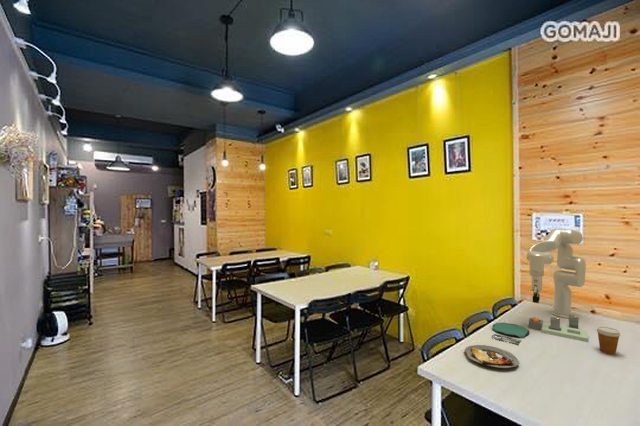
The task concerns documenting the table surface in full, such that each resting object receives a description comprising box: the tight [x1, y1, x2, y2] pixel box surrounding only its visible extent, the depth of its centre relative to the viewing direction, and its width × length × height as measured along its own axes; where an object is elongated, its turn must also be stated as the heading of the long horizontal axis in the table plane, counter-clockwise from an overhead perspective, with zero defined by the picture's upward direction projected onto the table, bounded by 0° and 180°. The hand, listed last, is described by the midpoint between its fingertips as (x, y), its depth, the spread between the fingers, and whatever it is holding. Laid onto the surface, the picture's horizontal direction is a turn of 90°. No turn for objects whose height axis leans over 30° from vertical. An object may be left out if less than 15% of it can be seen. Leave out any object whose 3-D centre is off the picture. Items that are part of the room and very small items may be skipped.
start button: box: [531, 317, 540, 322], centre depth 204 cm, size 4×4×3 cm
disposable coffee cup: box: [596, 326, 621, 355], centre depth 172 cm, size 10×10×12 cm
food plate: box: [464, 344, 520, 370], centre depth 164 cm, size 25×23×4 cm
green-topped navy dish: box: [491, 321, 530, 346], centre depth 196 cm, size 20×30×2 cm, turn 138°
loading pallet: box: [527, 317, 589, 343], centre depth 197 cm, size 29×14×5 cm, turn 52°
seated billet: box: [549, 316, 561, 331], centre depth 198 cm, size 5×5×8 cm
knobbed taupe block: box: [568, 315, 580, 329], centre depth 202 cm, size 5×5×8 cm
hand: (536, 301), depth 203 cm, fingers open, 5 cm apart
